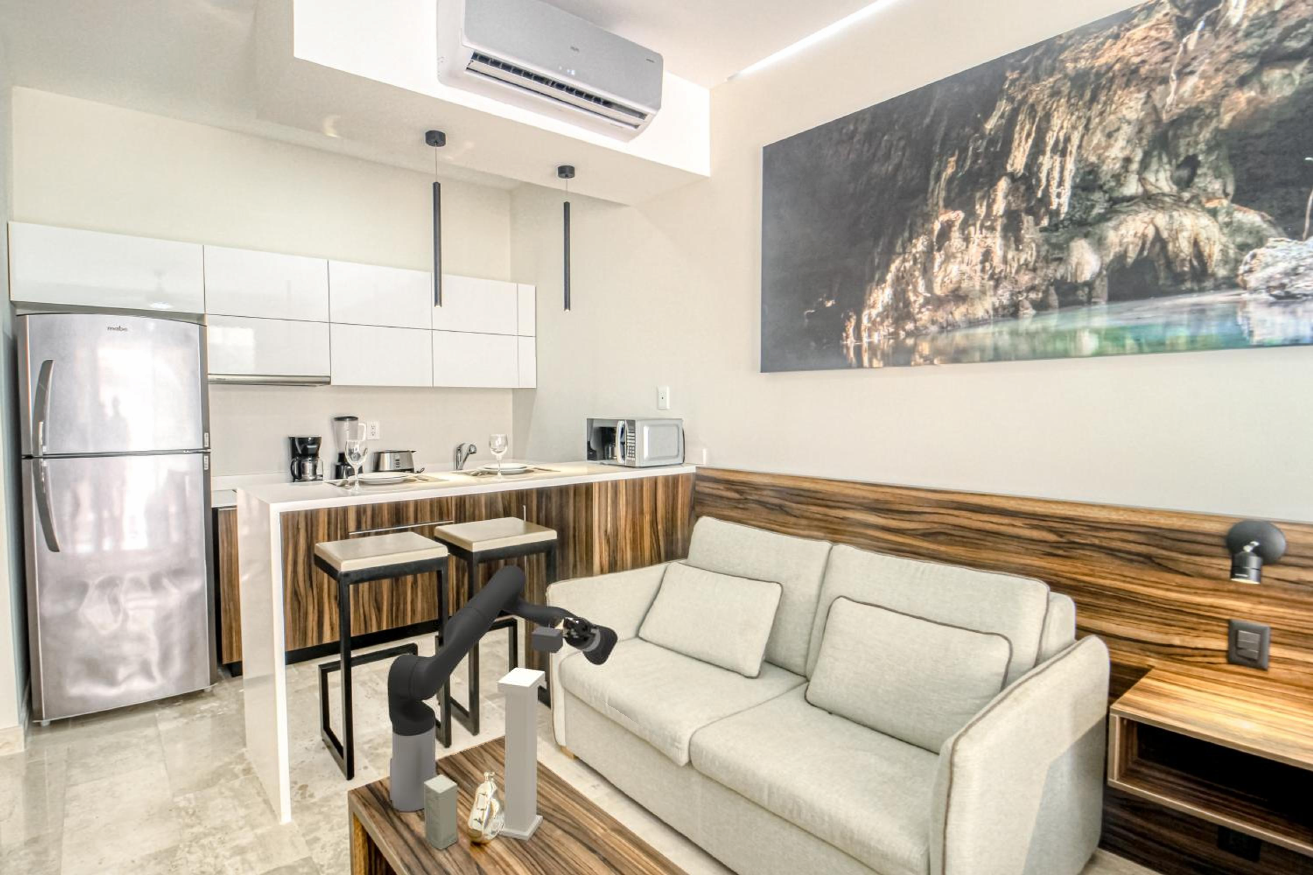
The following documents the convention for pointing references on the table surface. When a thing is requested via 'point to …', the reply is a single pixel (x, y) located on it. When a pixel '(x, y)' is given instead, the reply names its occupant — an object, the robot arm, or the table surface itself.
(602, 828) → the table surface
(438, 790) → the skincare box
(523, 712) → the pale stand
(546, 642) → the rubber mallet
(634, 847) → the table surface
